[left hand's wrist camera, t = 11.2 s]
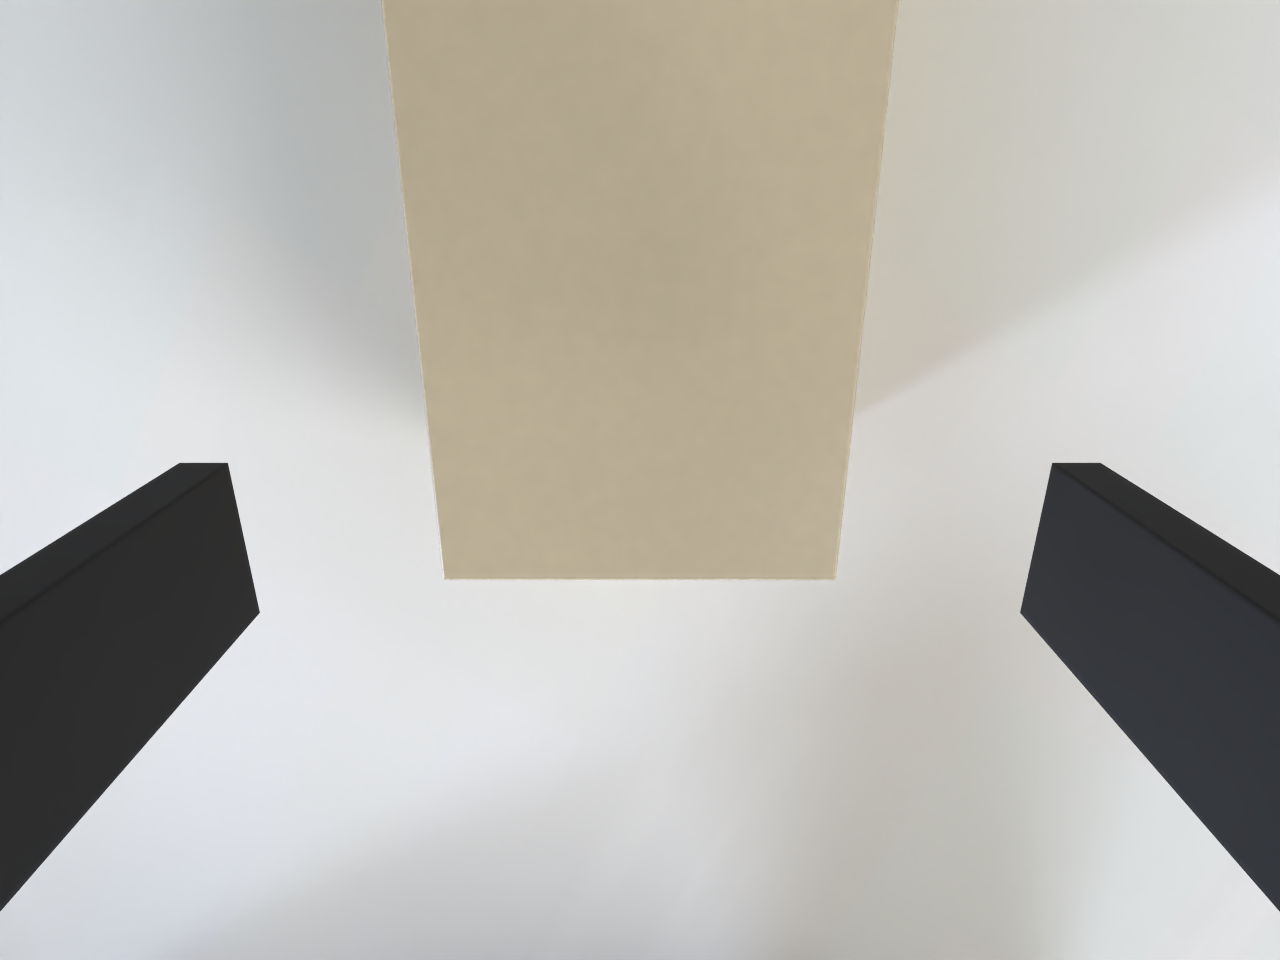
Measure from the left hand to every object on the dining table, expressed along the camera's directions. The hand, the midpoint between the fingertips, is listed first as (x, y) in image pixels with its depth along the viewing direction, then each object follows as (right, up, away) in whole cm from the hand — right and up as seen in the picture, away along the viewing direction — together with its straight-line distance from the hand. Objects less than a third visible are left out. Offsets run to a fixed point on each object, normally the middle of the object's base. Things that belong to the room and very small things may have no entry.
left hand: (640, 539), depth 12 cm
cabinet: (0, +10, +13) cm, 16 cm away
